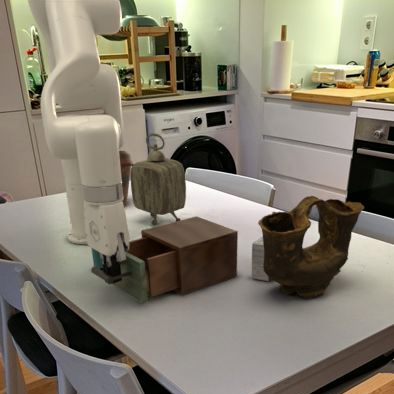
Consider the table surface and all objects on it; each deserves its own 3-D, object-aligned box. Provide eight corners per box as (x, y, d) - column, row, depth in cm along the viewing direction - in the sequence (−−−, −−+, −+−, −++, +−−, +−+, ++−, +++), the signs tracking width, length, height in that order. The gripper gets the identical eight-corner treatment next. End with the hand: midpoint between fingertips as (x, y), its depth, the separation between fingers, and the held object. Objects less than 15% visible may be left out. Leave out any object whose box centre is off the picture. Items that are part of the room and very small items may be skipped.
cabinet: (181, 295, 110) (180, 247, 104) (144, 275, 120) (141, 230, 114) (236, 276, 118) (237, 231, 112) (197, 258, 128) (196, 216, 122)
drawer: (119, 311, 102) (114, 270, 97) (87, 289, 111) (81, 251, 106) (198, 284, 112) (198, 245, 107) (163, 266, 121) (161, 230, 117)
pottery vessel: (329, 267, 121) (339, 182, 110) (364, 283, 113) (379, 192, 103) (244, 293, 110) (247, 201, 99) (277, 312, 102) (284, 214, 91)
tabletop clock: (187, 223, 152) (184, 133, 139) (166, 231, 146) (161, 138, 133) (152, 214, 160) (146, 129, 147) (131, 222, 154) (123, 133, 141)
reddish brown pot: (87, 197, 180) (80, 143, 171) (142, 198, 177) (138, 143, 168) (69, 211, 165) (60, 153, 156) (129, 213, 162) (124, 153, 153)
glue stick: (91, 269, 123) (87, 241, 120) (104, 265, 125) (101, 238, 122) (98, 273, 121) (95, 245, 117) (112, 269, 123) (108, 242, 119)
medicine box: (268, 282, 114) (270, 245, 110) (250, 278, 117) (251, 242, 112) (282, 270, 120) (285, 234, 116) (265, 267, 122) (267, 231, 118)
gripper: (67, 188, 100) (80, 275, 109) (105, 204, 89) (116, 298, 99) (101, 182, 103) (111, 266, 113) (141, 196, 93) (148, 288, 103)
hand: (113, 281), depth 106 cm, fingers closed
